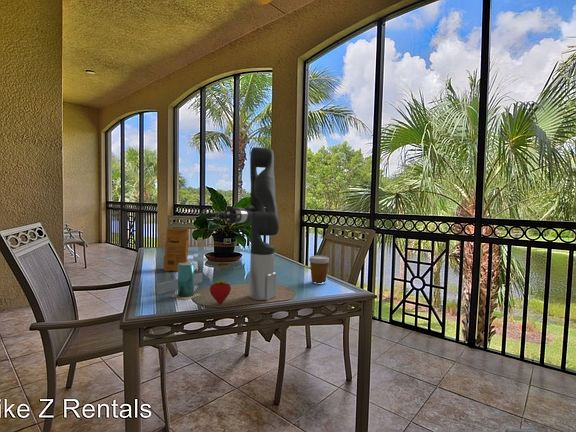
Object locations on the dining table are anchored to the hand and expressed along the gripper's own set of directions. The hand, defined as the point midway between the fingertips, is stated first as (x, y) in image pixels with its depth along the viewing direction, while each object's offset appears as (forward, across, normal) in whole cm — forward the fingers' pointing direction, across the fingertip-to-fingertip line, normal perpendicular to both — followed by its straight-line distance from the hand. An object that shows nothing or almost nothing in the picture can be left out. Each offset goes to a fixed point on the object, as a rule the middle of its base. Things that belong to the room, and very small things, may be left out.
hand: (212, 216), depth 142 cm
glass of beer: (-30, +38, +30) cm, 57 cm away
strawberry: (+18, +20, +30) cm, 40 cm away
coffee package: (-12, -35, +30) cm, 48 cm away
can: (+18, +3, +30) cm, 35 cm away
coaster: (+18, +3, +30) cm, 35 cm away
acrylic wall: (+11, -7, +30) cm, 33 cm away
